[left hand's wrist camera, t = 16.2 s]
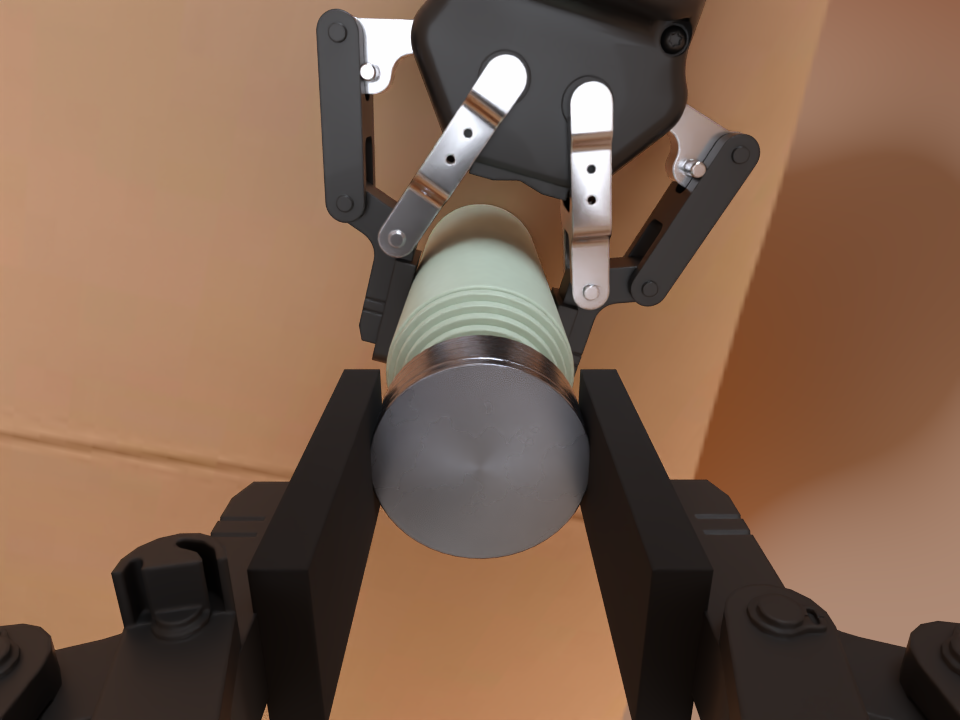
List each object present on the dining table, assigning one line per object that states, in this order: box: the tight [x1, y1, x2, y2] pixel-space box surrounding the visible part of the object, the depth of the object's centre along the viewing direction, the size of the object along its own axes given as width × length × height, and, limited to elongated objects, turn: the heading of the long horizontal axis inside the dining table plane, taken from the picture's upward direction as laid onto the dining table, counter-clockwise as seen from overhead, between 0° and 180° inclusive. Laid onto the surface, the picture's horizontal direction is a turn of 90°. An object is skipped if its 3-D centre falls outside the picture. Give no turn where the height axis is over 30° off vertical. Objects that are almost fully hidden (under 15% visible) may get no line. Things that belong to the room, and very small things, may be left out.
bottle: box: [386, 204, 574, 388], centre depth 22 cm, size 5×5×17 cm
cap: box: [370, 335, 590, 559], centre depth 14 cm, size 4×4×2 cm
